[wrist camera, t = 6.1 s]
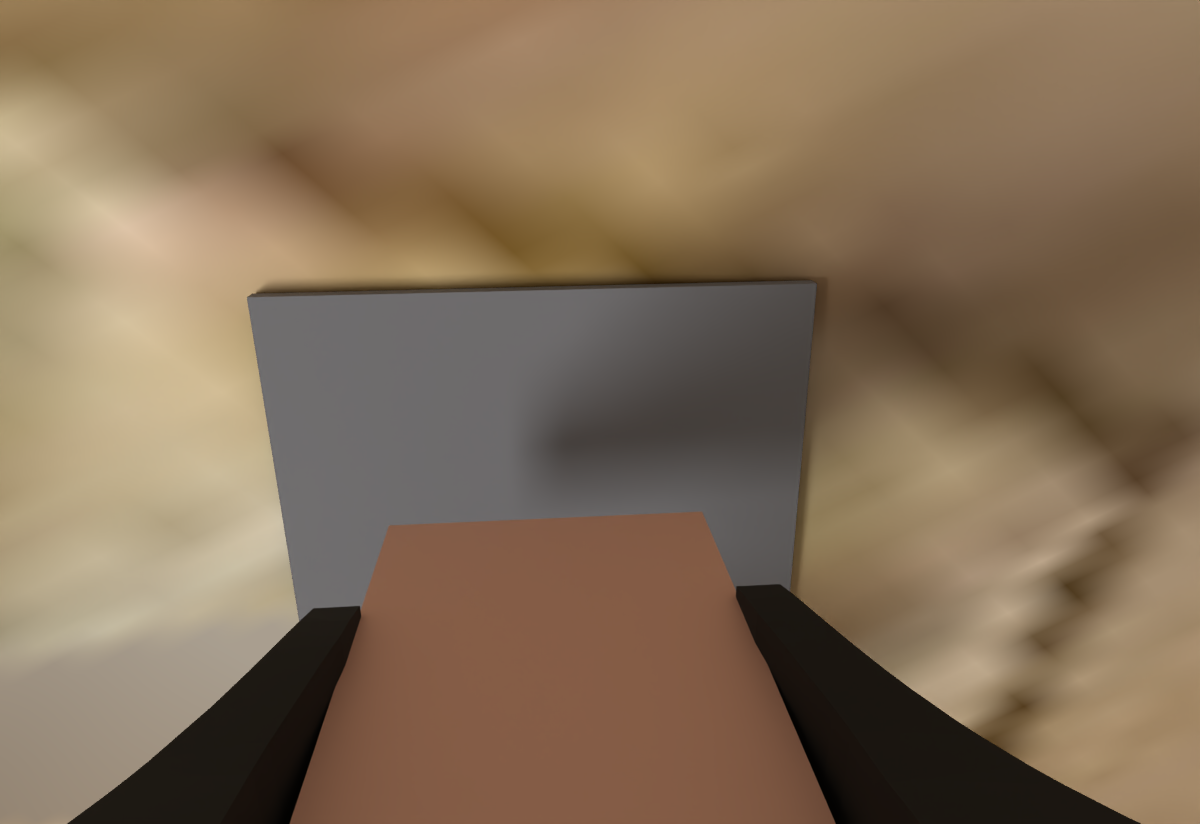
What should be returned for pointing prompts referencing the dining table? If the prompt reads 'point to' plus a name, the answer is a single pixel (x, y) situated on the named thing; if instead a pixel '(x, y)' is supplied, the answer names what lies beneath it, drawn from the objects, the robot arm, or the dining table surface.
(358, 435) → the mat
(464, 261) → the dining table surface
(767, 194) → the dining table surface
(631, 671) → the domino
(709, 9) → the dining table surface
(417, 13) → the dining table surface
